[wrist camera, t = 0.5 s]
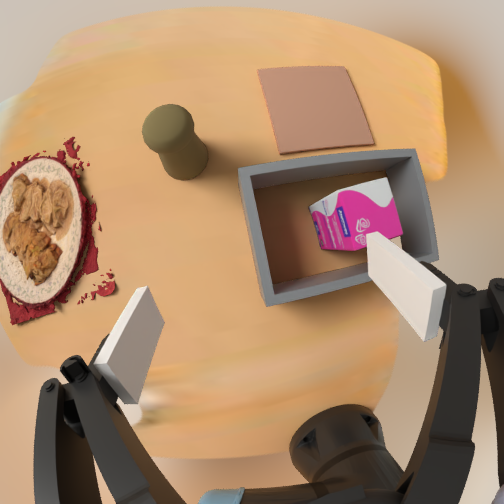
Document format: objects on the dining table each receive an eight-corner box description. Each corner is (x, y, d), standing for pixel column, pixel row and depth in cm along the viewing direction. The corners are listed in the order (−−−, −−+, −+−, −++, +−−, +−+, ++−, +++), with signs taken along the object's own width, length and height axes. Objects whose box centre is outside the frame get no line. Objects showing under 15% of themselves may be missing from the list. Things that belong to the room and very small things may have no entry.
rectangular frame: (409, 258, 34) (439, 259, 27) (260, 295, 33) (266, 306, 26) (389, 163, 34) (415, 148, 27) (238, 184, 33) (237, 168, 26)
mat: (372, 144, 34) (374, 143, 33) (279, 154, 33) (280, 152, 33) (343, 68, 34) (344, 66, 33) (257, 71, 33) (257, 69, 32)
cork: (195, 129, 33) (179, 85, 22) (216, 165, 33) (207, 129, 22) (155, 152, 33) (125, 116, 22) (175, 189, 33) (147, 163, 22)
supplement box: (305, 206, 34) (336, 187, 22) (346, 195, 34) (389, 174, 22) (318, 250, 34) (355, 252, 22) (358, 238, 34) (407, 233, 23)
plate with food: (17, 322, 32) (6, 327, 29) (-7, 184, 31) (-19, 181, 28) (121, 290, 34) (110, 295, 30) (87, 122, 33) (76, 114, 29)
